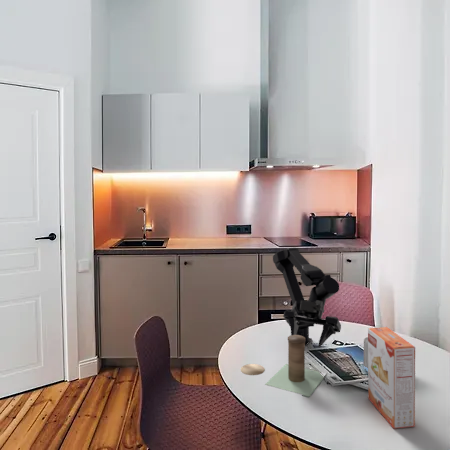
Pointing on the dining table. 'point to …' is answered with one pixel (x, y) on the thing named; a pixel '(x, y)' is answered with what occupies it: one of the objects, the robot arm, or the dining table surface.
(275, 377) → the mat
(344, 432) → the dining table surface
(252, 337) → the dining table surface
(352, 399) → the dining table surface
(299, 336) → the canister
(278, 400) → the dining table surface
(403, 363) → the cracker box
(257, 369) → the coaster
